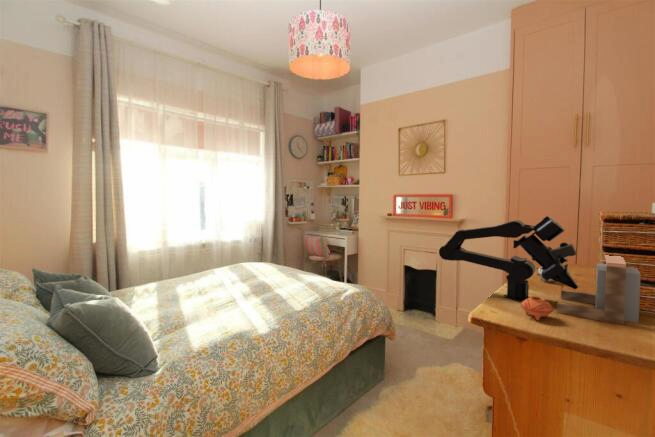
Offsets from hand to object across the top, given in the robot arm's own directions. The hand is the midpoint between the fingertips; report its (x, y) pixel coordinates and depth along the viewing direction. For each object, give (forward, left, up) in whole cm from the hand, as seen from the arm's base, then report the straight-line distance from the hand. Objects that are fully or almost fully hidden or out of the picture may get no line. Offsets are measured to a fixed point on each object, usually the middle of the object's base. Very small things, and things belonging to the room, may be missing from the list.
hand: (576, 288), depth 101 cm
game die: (+22, +24, -7) cm, 33 cm away
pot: (-19, -1, -7) cm, 20 cm away
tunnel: (+2, -3, -6) cm, 7 cm away
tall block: (+5, -8, -6) cm, 11 cm away
